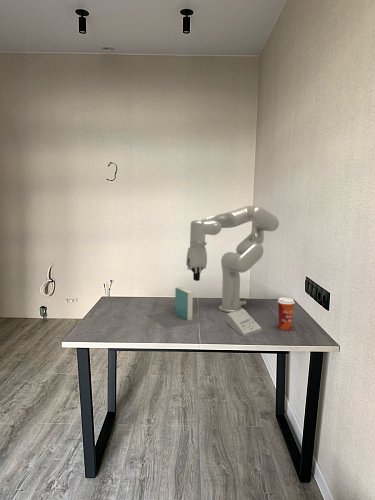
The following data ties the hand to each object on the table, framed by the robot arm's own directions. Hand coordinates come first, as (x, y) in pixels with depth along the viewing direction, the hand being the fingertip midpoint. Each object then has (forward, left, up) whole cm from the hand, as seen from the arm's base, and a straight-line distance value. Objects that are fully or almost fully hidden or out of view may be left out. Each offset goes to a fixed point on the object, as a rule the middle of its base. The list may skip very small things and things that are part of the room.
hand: (196, 280), depth 193 cm
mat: (+13, 0, -19) cm, 22 cm away
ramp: (-11, +25, -19) cm, 34 cm away
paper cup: (-26, +37, -19) cm, 49 cm away
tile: (+8, 0, -18) cm, 20 cm away
